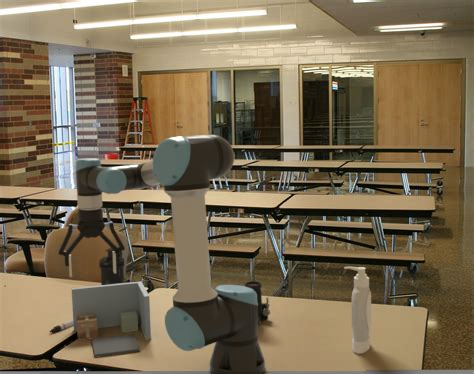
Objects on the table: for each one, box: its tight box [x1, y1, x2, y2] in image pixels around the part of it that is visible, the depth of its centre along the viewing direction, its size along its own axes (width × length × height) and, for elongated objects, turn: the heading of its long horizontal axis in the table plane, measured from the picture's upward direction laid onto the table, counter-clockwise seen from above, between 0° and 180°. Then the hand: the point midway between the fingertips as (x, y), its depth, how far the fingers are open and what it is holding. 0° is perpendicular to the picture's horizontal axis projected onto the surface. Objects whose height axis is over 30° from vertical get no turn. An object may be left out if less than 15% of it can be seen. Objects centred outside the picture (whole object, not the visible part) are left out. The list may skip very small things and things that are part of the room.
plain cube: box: [120, 311, 139, 333], centre depth 206 cm, size 5×5×5 cm
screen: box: [71, 281, 152, 341], centre depth 200 cm, size 17×23×14 cm
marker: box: [49, 318, 74, 334], centre depth 209 cm, size 15×2×2 cm, turn 149°
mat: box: [91, 333, 140, 358], centre depth 191 cm, size 13×13×1 cm
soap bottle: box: [343, 266, 372, 355], centre depth 185 cm, size 13×8×24 cm, turn 159°
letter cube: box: [76, 314, 99, 340], centre depth 200 cm, size 6×6×6 cm
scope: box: [244, 280, 271, 327], centre depth 208 cm, size 8×14×10 cm
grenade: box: [98, 247, 125, 285], centre depth 235 cm, size 9×11×20 cm
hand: (93, 274), depth 198 cm, fingers open, 13 cm apart
